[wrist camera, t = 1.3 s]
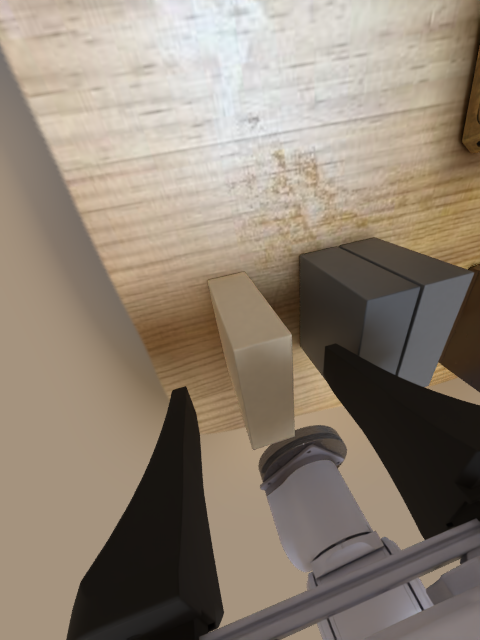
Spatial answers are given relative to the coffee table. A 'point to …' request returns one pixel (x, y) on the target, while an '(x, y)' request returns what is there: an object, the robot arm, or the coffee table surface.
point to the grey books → (380, 305)
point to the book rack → (466, 337)
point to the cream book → (255, 358)
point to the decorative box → (473, 114)
